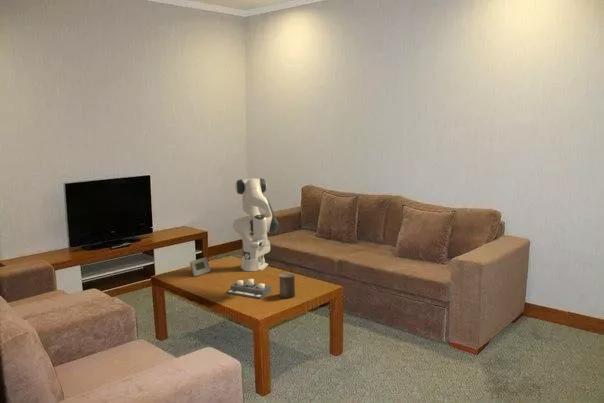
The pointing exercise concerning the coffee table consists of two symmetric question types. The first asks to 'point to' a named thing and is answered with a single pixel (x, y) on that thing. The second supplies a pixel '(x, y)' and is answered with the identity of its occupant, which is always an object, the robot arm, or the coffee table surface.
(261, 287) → the button
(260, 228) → the robot arm
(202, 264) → the digital clock
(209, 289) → the coffee table surface
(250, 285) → the button
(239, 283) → the button
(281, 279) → the pillar candle
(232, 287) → the board
